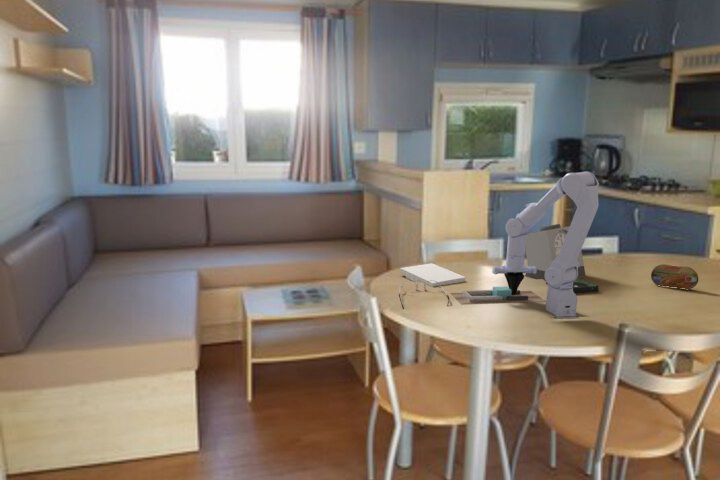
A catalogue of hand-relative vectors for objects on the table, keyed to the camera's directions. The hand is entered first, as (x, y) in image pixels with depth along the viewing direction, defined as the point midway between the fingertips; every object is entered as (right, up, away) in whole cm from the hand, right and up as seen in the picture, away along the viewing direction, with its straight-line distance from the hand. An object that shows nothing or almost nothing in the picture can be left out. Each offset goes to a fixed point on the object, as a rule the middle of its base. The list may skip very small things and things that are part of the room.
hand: (512, 294), depth 188 cm
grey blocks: (0, -1, 0) cm, 1 cm away
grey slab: (-11, -1, -2) cm, 11 cm away
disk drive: (+25, 0, +14) cm, 29 cm away
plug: (-4, -1, 0) cm, 4 cm away
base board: (-5, -2, 0) cm, 5 cm away
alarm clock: (+24, +4, +32) cm, 40 cm away
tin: (+64, 0, +19) cm, 66 cm away
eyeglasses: (-30, -2, -2) cm, 30 cm away
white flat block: (-24, +3, +22) cm, 33 cm away
